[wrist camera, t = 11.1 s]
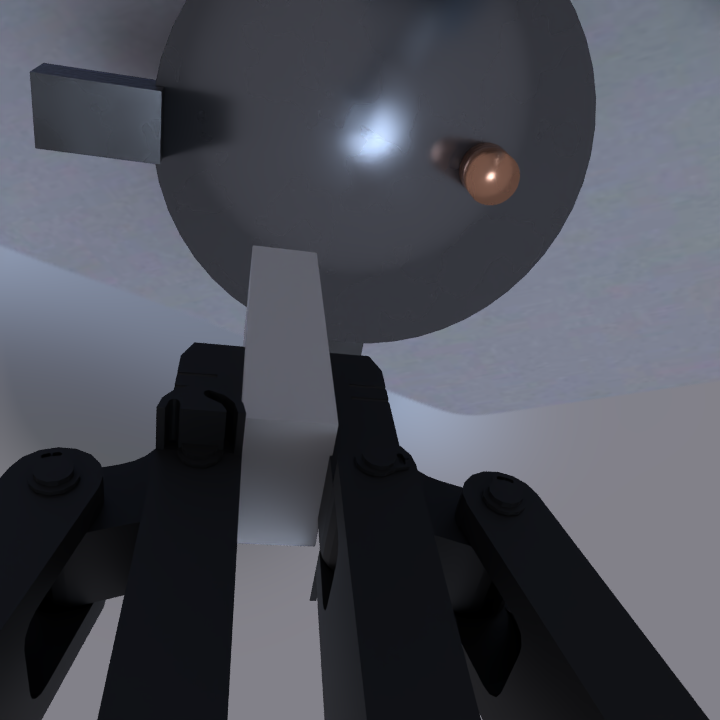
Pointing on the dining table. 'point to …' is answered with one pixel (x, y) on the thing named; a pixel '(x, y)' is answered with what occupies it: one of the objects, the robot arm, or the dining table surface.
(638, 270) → the dining table surface
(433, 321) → the pot lid
